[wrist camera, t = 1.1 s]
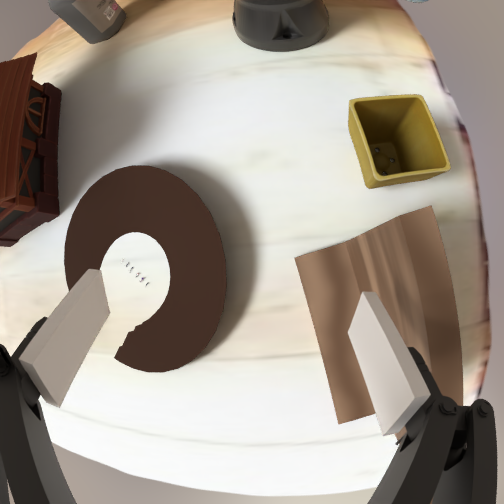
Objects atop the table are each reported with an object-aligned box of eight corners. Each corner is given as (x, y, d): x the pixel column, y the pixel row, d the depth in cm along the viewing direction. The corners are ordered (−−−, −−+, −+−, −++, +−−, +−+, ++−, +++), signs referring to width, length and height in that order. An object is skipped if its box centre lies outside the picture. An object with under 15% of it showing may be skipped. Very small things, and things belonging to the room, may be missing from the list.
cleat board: (410, 221, 30) (513, 178, 11) (441, 382, 29) (519, 459, 9) (294, 258, 33) (279, 253, 13) (337, 419, 31) (352, 535, 11)
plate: (50, 282, 40) (35, 283, 37) (130, 140, 38) (117, 132, 34) (159, 405, 36) (147, 416, 32) (281, 253, 33) (278, 253, 30)
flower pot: (400, 127, 31) (422, 93, 22) (421, 190, 30) (453, 169, 21) (338, 135, 32) (347, 98, 23) (357, 201, 32) (375, 181, 23)
